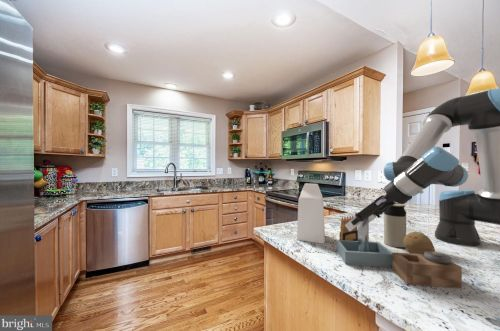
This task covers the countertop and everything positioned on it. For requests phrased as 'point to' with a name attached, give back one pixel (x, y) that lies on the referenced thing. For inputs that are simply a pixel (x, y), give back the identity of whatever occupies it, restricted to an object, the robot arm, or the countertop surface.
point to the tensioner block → (427, 269)
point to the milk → (311, 215)
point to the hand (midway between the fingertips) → (354, 225)
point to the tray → (364, 254)
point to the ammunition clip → (347, 234)
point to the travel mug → (395, 225)
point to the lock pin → (363, 236)
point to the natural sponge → (417, 243)
